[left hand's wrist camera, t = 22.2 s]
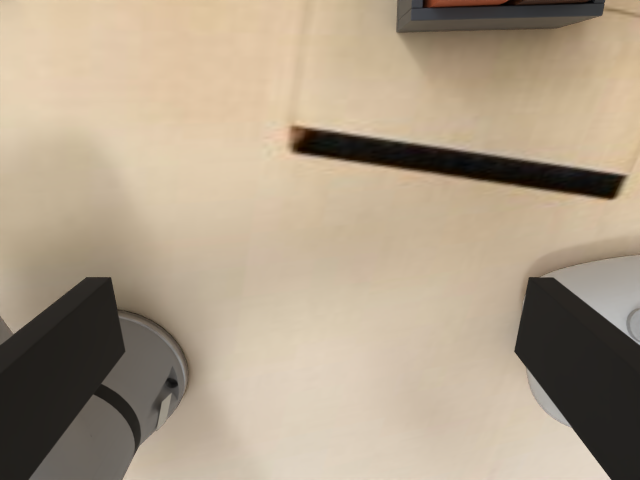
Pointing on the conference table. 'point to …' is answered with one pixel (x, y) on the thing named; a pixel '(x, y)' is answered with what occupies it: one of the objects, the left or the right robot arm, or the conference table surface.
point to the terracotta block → (460, 3)
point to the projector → (600, 303)
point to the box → (492, 16)
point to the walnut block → (541, 2)
